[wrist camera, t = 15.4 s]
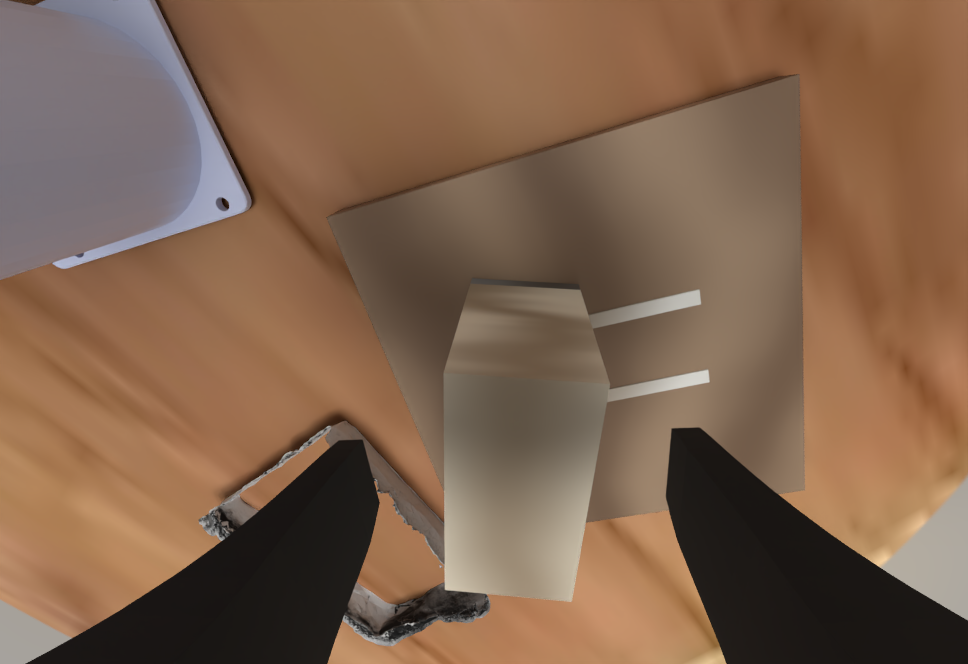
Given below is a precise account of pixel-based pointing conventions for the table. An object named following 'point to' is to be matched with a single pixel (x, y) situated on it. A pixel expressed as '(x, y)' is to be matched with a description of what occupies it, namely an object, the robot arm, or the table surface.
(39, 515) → the table surface
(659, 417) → the walnut board
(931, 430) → the table surface
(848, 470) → the table surface
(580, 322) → the block
